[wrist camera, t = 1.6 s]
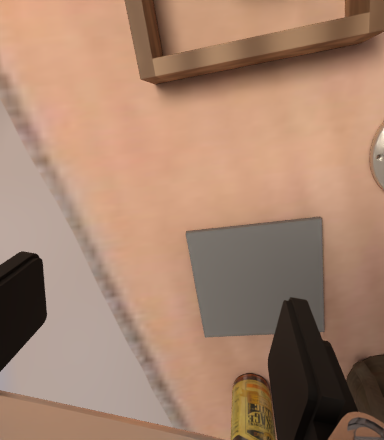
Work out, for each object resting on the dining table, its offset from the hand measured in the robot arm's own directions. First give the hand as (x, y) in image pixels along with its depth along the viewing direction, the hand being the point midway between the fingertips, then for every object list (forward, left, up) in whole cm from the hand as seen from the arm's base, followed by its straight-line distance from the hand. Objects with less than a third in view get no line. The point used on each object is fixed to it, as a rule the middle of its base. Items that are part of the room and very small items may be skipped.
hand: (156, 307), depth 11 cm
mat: (-5, +17, -29) cm, 34 cm away
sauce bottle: (-1, +37, -30) cm, 48 cm away
